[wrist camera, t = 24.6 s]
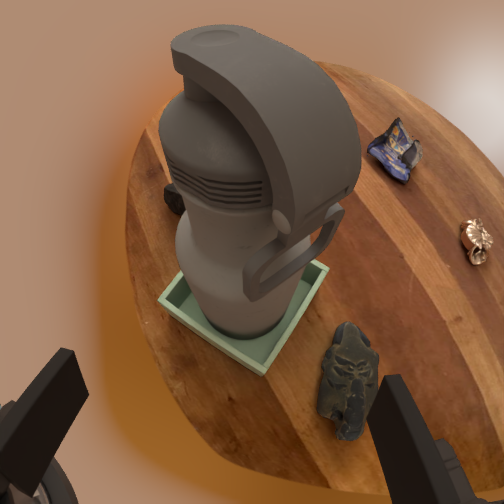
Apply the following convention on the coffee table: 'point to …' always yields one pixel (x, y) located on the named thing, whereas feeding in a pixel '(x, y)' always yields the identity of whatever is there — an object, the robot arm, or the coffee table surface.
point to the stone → (348, 382)
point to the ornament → (476, 240)
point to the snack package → (396, 151)
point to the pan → (253, 350)
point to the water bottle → (254, 171)
